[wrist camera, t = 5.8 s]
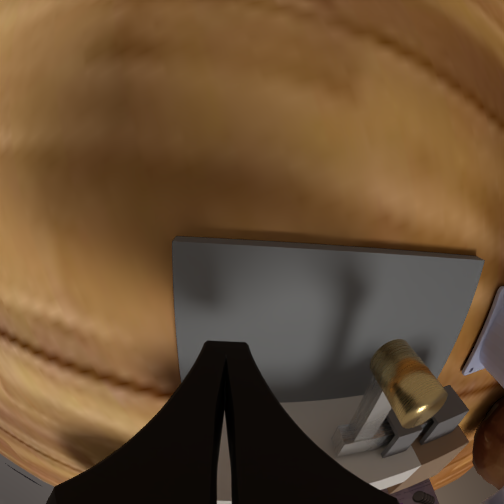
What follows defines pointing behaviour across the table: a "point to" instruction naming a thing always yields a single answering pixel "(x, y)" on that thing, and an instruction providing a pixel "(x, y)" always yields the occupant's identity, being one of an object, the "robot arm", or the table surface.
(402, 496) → the cake pan box
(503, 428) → the butternut squash
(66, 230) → the table surface
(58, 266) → the table surface
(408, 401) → the bolt
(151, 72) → the table surface
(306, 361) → the door
